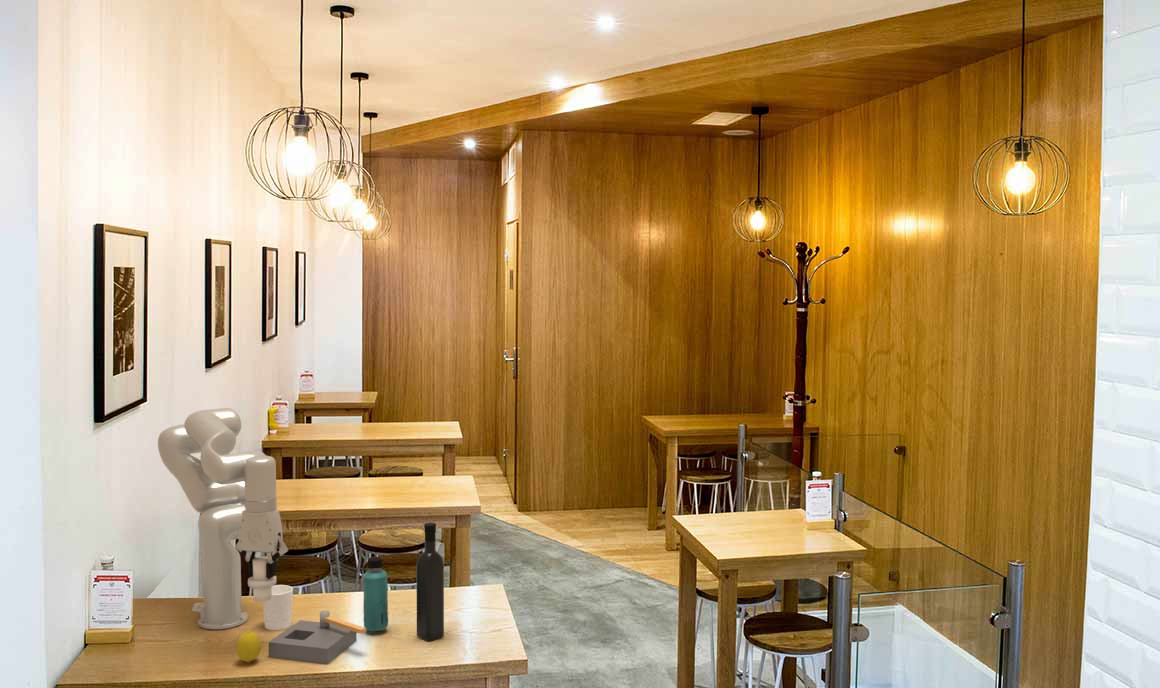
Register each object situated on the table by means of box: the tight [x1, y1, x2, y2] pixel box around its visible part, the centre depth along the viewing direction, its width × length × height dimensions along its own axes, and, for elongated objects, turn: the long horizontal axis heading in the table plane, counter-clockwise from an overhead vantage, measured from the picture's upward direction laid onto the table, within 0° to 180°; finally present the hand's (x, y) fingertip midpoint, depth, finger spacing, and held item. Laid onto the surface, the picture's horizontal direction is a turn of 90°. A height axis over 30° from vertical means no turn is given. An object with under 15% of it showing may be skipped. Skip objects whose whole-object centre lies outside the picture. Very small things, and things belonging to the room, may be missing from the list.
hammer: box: [319, 610, 367, 635], centre depth 237 cm, size 16×2×4 cm, turn 55°
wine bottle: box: [416, 522, 445, 642], centre depth 245 cm, size 6×6×30 cm
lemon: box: [236, 630, 262, 664], centre depth 228 cm, size 6×6×8 cm
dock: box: [268, 619, 358, 665], centre depth 237 cm, size 16×15×4 cm
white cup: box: [262, 584, 294, 631], centre depth 252 cm, size 8×8×10 cm
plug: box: [247, 556, 277, 602], centre depth 238 cm, size 7×7×10 cm
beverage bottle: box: [362, 556, 389, 632], centre depth 248 cm, size 6×7×20 cm
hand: (262, 575), depth 238 cm, fingers closed on plug, 4 cm apart
